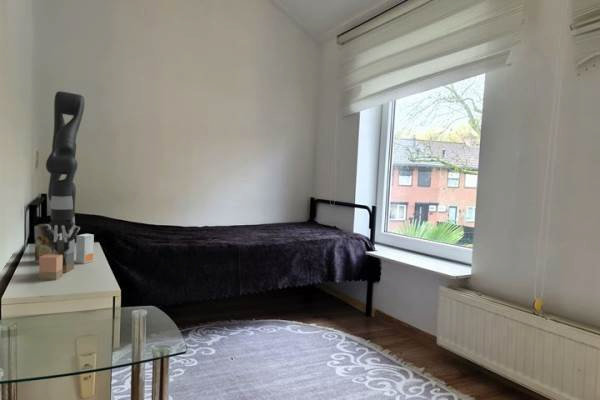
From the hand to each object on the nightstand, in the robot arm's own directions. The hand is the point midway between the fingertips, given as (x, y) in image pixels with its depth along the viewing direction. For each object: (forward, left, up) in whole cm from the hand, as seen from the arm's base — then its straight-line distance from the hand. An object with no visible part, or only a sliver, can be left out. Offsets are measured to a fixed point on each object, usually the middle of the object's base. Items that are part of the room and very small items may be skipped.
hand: (61, 250), depth 171 cm
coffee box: (-18, -7, -9) cm, 21 cm away
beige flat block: (+3, -1, -4) cm, 6 cm away
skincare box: (-16, +7, -9) cm, 19 cm away
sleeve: (-2, +1, -8) cm, 9 cm away
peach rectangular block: (+9, -2, -8) cm, 12 cm away
